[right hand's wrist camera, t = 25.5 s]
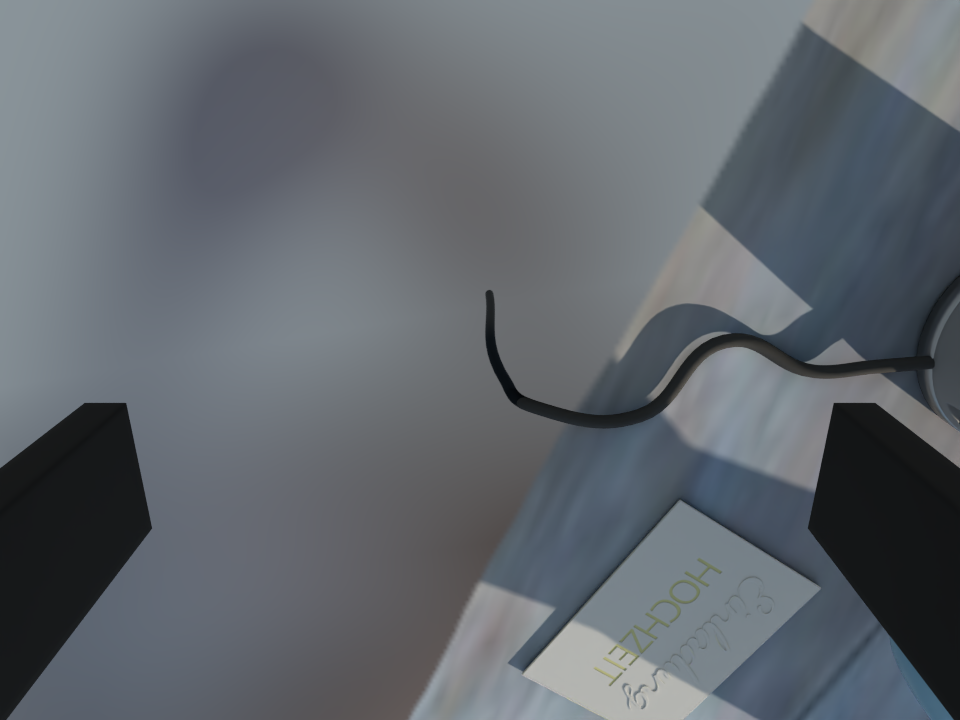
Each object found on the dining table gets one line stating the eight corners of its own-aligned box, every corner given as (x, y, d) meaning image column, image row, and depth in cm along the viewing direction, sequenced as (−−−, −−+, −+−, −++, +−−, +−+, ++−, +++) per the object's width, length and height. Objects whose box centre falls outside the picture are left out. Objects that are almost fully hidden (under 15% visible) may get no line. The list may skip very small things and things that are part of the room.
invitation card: (680, 501, 52) (821, 588, 55) (679, 499, 53) (820, 586, 56) (522, 675, 59) (656, 745, 62) (521, 673, 59) (655, 743, 62)
